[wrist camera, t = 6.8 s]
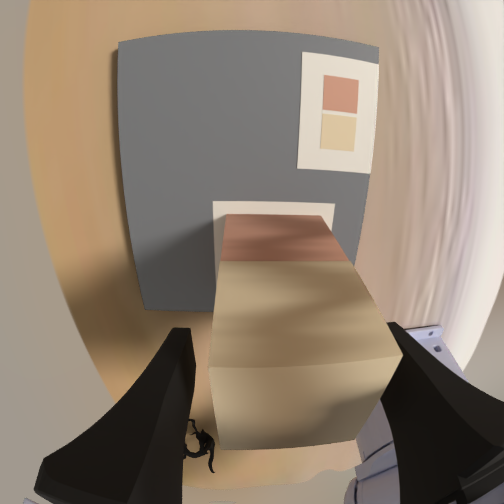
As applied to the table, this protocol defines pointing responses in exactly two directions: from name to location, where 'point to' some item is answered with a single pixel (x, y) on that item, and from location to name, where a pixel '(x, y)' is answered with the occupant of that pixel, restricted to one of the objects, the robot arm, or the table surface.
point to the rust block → (279, 238)
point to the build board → (238, 145)
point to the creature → (202, 446)
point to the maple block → (295, 354)
